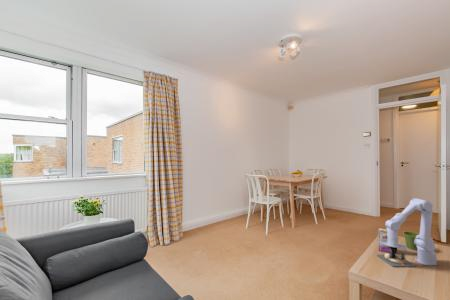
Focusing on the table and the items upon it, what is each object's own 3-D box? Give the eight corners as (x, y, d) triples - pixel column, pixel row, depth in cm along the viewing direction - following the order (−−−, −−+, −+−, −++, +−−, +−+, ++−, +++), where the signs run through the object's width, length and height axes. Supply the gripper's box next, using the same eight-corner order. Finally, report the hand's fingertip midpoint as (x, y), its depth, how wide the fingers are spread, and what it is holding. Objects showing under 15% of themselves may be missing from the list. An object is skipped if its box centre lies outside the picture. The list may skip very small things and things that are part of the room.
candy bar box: (378, 250, 164) (378, 229, 164) (378, 248, 168) (378, 227, 168) (397, 254, 158) (397, 232, 158) (396, 251, 162) (396, 230, 162)
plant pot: (407, 250, 164) (407, 236, 164) (399, 244, 175) (399, 230, 175) (426, 252, 161) (426, 238, 161) (417, 245, 172) (417, 232, 172)
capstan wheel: (410, 262, 145) (410, 254, 145) (398, 265, 141) (398, 256, 141) (392, 254, 156) (392, 246, 156) (380, 256, 153) (380, 248, 153)
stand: (397, 255, 156) (397, 254, 156) (415, 267, 141) (415, 265, 141) (377, 255, 156) (377, 254, 156) (392, 267, 141) (392, 265, 141)
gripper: (404, 237, 146) (405, 257, 146) (378, 234, 153) (379, 253, 153) (407, 241, 140) (408, 262, 140) (380, 237, 147) (381, 257, 147)
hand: (393, 257), depth 146 cm, fingers closed, pressing on capstan wheel
